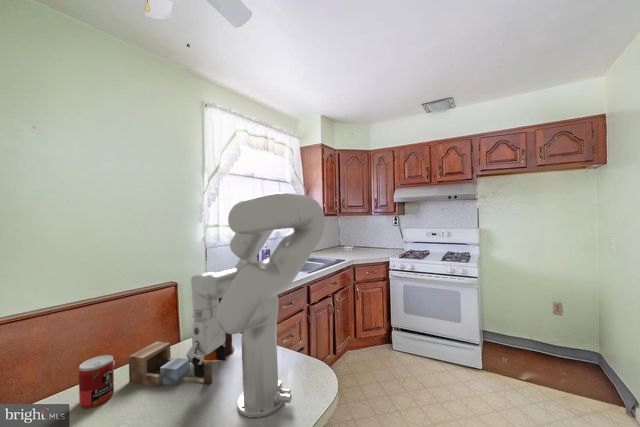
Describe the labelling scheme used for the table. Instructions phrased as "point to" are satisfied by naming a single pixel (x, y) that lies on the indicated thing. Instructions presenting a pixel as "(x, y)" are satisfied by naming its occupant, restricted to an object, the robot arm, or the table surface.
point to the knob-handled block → (183, 372)
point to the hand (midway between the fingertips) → (211, 368)
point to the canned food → (96, 381)
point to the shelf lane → (149, 363)
